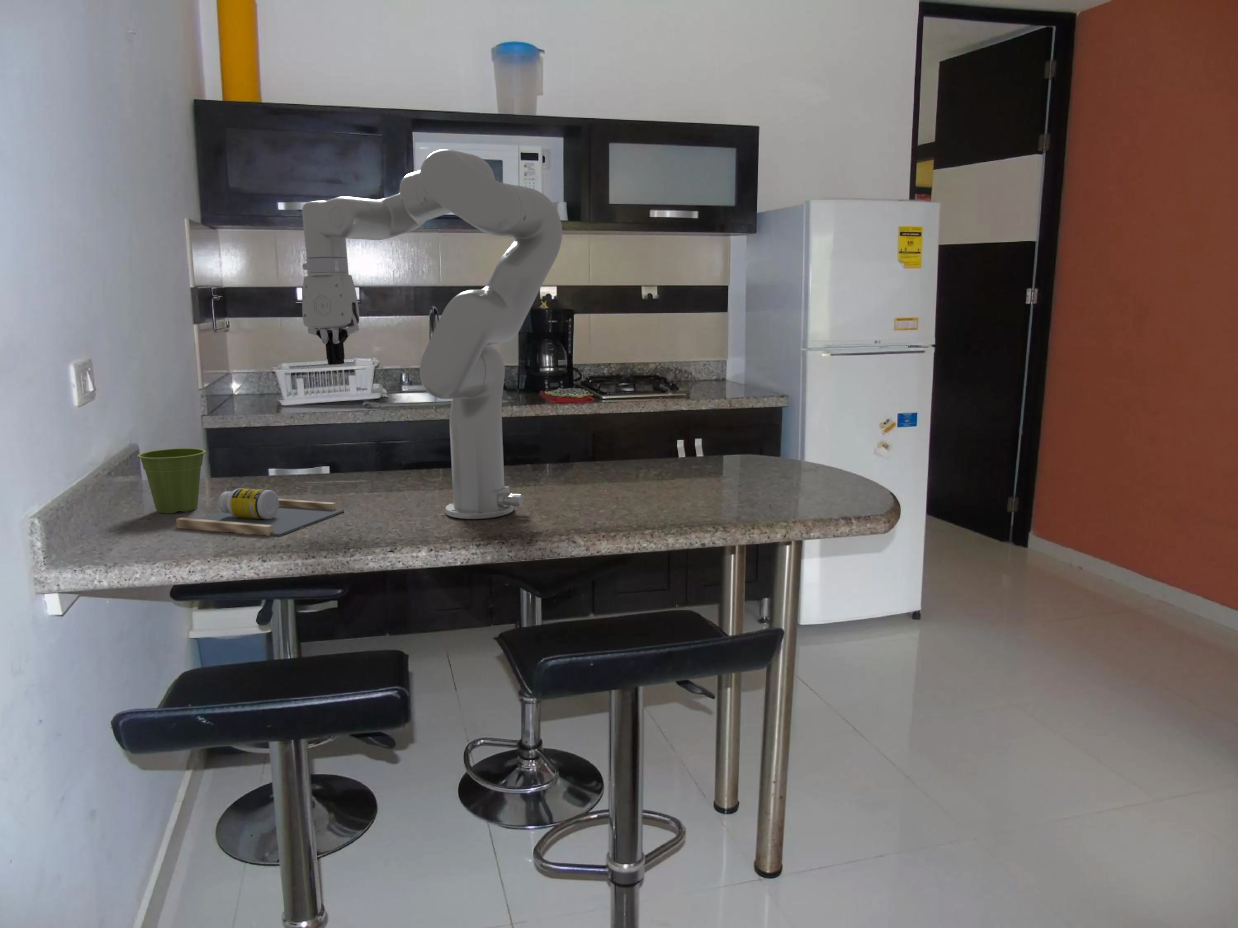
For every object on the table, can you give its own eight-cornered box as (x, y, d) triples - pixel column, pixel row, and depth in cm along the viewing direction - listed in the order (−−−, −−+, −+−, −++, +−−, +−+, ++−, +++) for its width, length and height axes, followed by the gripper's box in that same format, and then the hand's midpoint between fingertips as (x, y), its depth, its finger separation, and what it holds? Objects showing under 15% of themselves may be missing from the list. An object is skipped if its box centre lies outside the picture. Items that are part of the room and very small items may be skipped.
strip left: (273, 534, 159) (272, 525, 158) (268, 535, 158) (268, 526, 157) (182, 526, 165) (181, 517, 165) (177, 527, 164) (176, 519, 164)
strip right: (336, 510, 175) (335, 502, 175) (332, 512, 174) (331, 504, 174) (251, 504, 181) (250, 496, 181) (246, 505, 180) (246, 497, 180)
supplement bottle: (258, 495, 164) (212, 494, 167) (264, 524, 166) (218, 521, 168) (277, 485, 169) (232, 483, 172) (282, 512, 170) (238, 510, 173)
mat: (344, 512, 174) (343, 509, 174) (280, 536, 157) (279, 533, 157) (249, 504, 181) (249, 503, 181) (178, 527, 164) (178, 525, 164)
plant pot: (202, 515, 173) (196, 456, 171) (134, 518, 172) (127, 459, 170) (218, 501, 185) (212, 446, 183) (155, 504, 183) (149, 448, 181)
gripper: (282, 269, 175) (291, 366, 178) (350, 266, 171) (359, 365, 174) (306, 270, 182) (314, 363, 185) (372, 267, 178) (380, 362, 181)
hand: (336, 364), depth 180 cm, fingers closed
